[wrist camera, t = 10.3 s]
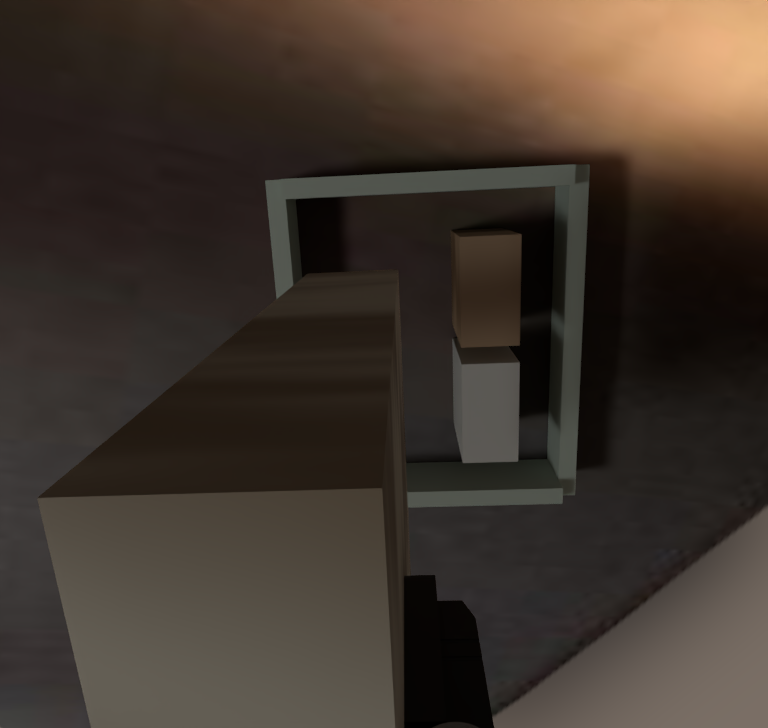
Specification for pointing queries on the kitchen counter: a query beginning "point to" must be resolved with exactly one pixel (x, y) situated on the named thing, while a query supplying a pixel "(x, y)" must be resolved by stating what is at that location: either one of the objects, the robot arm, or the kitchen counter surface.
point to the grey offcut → (486, 403)
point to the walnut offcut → (486, 287)
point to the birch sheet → (250, 529)
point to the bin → (558, 471)
